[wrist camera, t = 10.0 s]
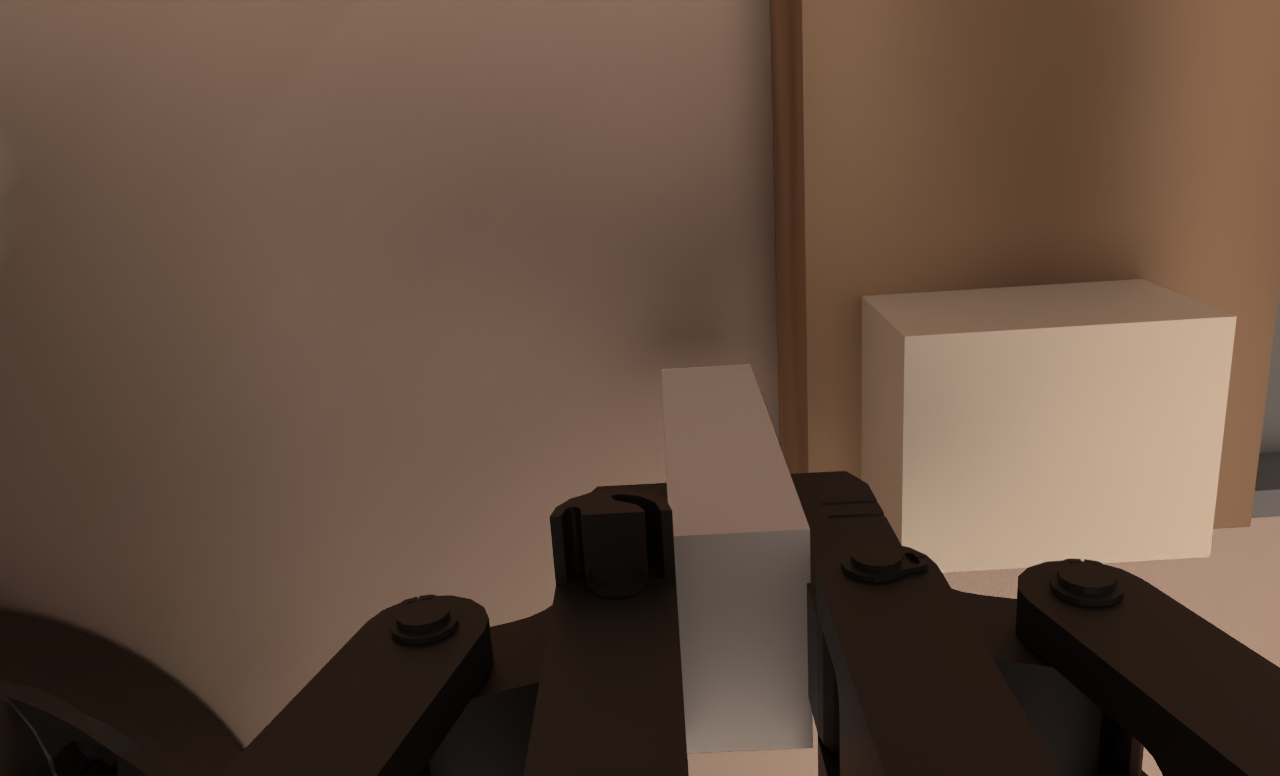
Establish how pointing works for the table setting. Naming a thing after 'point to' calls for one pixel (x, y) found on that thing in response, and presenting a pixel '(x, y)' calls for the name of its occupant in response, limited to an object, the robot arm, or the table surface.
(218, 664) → the table surface
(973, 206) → the board
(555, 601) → the robot arm
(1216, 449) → the beige block
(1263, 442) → the tray
